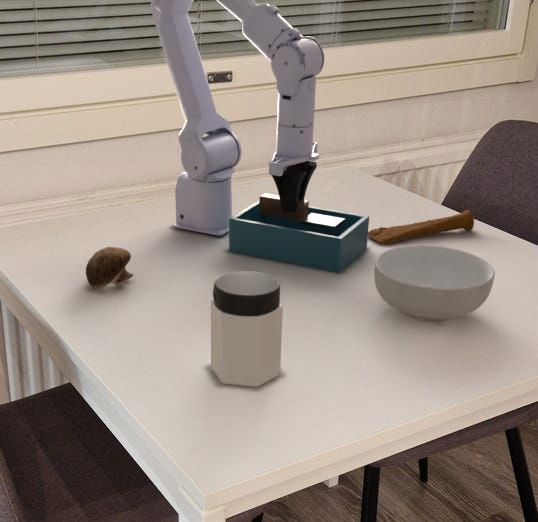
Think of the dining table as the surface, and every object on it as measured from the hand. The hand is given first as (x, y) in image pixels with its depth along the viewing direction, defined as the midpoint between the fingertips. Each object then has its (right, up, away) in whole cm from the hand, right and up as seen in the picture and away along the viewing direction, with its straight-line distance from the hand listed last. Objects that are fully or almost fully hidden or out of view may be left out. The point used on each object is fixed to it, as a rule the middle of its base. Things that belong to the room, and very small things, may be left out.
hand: (291, 209), depth 157 cm
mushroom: (-28, -15, -11) cm, 34 cm away
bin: (+1, -6, +3) cm, 7 cm away
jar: (-7, -30, -34) cm, 47 cm away
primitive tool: (+23, -2, +10) cm, 25 cm away
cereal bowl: (+19, -20, -17) cm, 32 cm away
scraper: (+1, -2, 0) cm, 2 cm away
